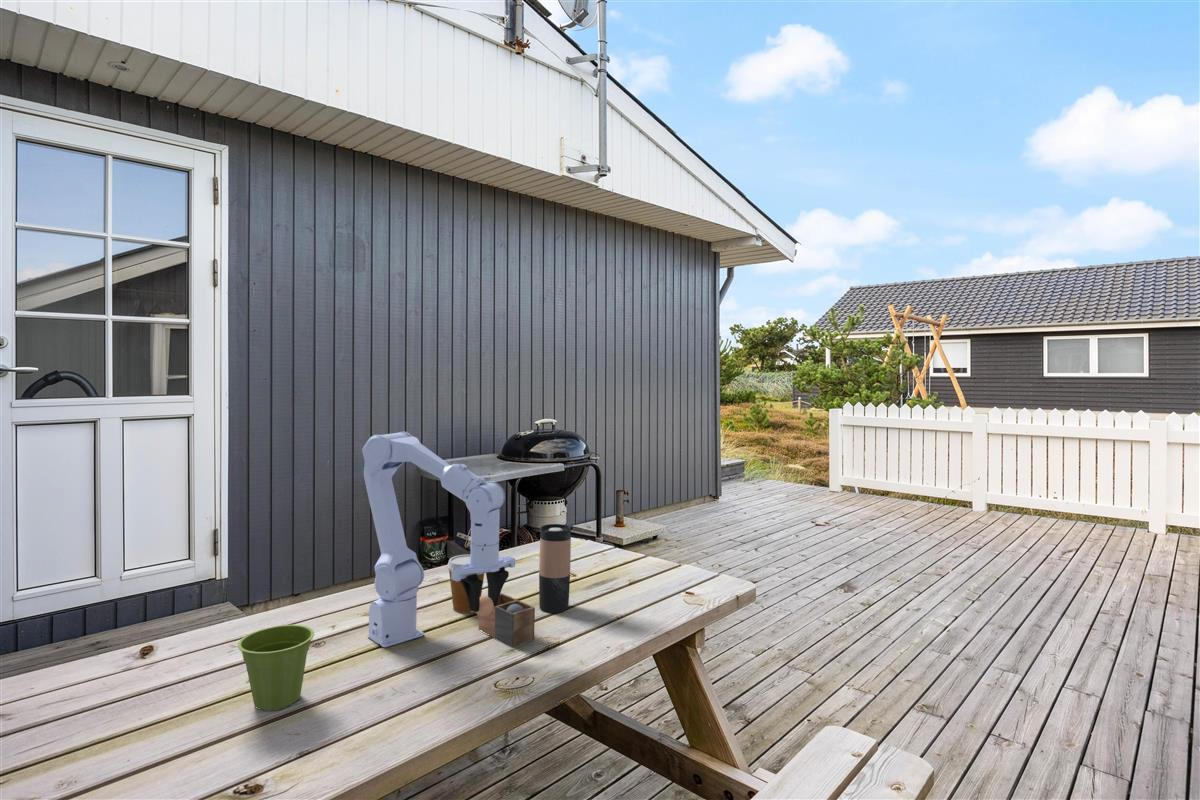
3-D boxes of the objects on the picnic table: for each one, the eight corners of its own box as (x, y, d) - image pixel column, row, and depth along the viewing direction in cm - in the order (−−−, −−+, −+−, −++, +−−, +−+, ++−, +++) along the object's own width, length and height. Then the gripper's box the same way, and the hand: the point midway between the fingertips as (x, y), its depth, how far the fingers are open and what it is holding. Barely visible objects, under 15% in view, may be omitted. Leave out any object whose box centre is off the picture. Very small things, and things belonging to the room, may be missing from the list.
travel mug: (571, 603, 163) (573, 524, 162) (566, 614, 155) (568, 532, 154) (541, 601, 164) (543, 523, 163) (535, 612, 156) (537, 530, 155)
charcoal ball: (508, 629, 139) (515, 622, 136) (499, 612, 140) (506, 605, 138) (523, 621, 142) (530, 615, 139) (514, 605, 143) (521, 598, 140)
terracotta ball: (481, 621, 130) (481, 601, 130) (469, 615, 133) (470, 596, 133) (497, 615, 133) (497, 596, 133) (485, 610, 136) (486, 591, 136)
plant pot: (294, 678, 121) (294, 618, 120) (326, 700, 113) (327, 636, 113) (225, 702, 112) (225, 638, 111) (255, 727, 104) (256, 659, 103)
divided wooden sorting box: (511, 647, 136) (512, 614, 136) (478, 630, 145) (479, 599, 144) (534, 639, 141) (534, 607, 140) (500, 623, 149) (501, 593, 149)
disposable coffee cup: (464, 618, 151) (465, 568, 151) (438, 608, 157) (438, 559, 156) (494, 607, 159) (495, 559, 158) (468, 598, 164) (469, 551, 164)
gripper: (465, 553, 124) (464, 622, 125) (524, 540, 135) (523, 604, 135) (445, 545, 129) (444, 612, 130) (504, 533, 140) (503, 595, 140)
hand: (483, 607), depth 133 cm, fingers closed on terracotta ball, 4 cm apart
